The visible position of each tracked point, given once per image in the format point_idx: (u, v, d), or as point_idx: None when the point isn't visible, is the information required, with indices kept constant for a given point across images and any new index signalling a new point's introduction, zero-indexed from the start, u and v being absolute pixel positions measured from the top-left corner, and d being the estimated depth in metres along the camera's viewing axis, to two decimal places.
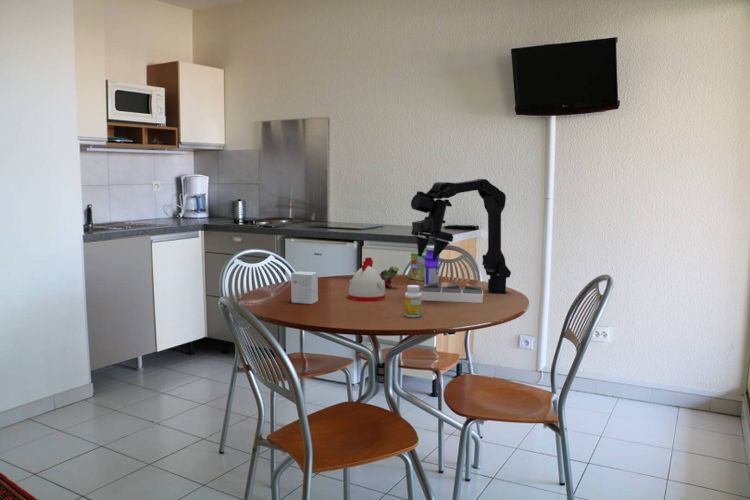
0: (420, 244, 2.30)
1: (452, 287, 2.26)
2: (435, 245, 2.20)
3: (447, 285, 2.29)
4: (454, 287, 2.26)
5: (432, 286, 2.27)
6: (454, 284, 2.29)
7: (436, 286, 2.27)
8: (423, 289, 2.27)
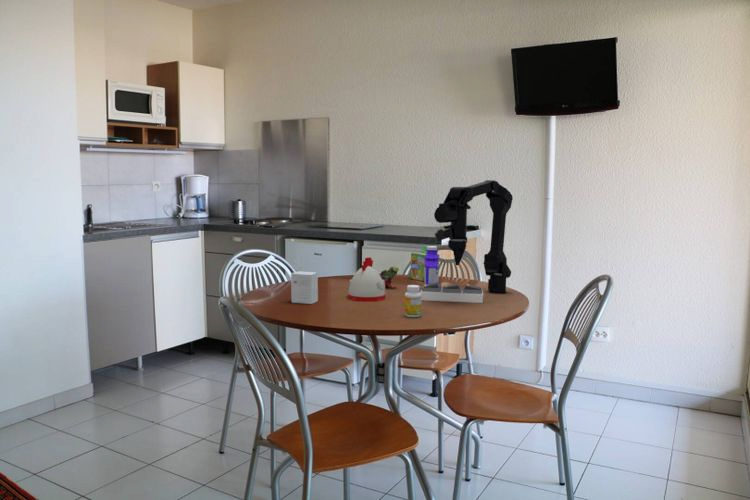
0: None
1: (452, 287, 2.26)
2: None
3: (447, 285, 2.29)
4: (454, 287, 2.26)
5: (432, 286, 2.27)
6: (454, 284, 2.29)
7: (436, 286, 2.27)
8: (423, 289, 2.27)
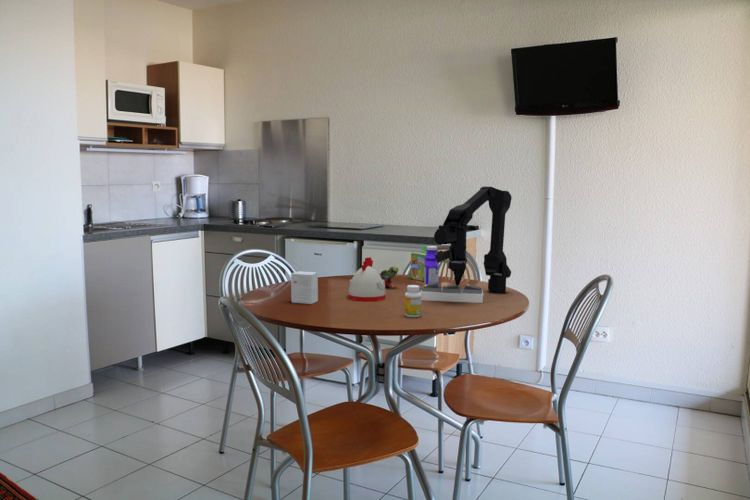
0: None
1: (452, 287, 2.26)
2: (453, 272, 2.26)
3: (447, 285, 2.29)
4: (454, 287, 2.26)
5: (432, 286, 2.27)
6: (454, 284, 2.29)
7: (436, 286, 2.27)
8: (423, 289, 2.27)
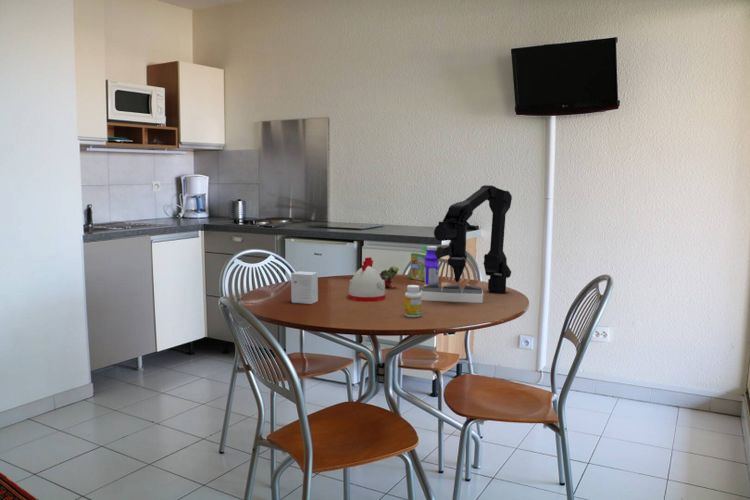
0: None
1: (452, 287, 2.26)
2: (453, 269, 2.26)
3: (447, 285, 2.29)
4: (454, 287, 2.26)
5: (432, 286, 2.27)
6: (454, 284, 2.29)
7: (436, 286, 2.27)
8: (423, 289, 2.27)
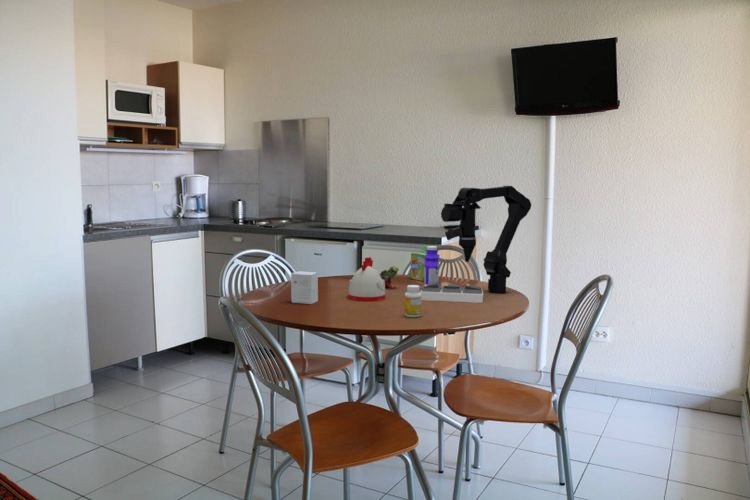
0: None
1: (452, 287, 2.26)
2: (463, 249, 2.35)
3: (447, 284, 2.29)
4: (454, 288, 2.26)
5: (432, 286, 2.27)
6: (454, 285, 2.29)
7: (436, 286, 2.27)
8: (423, 289, 2.27)
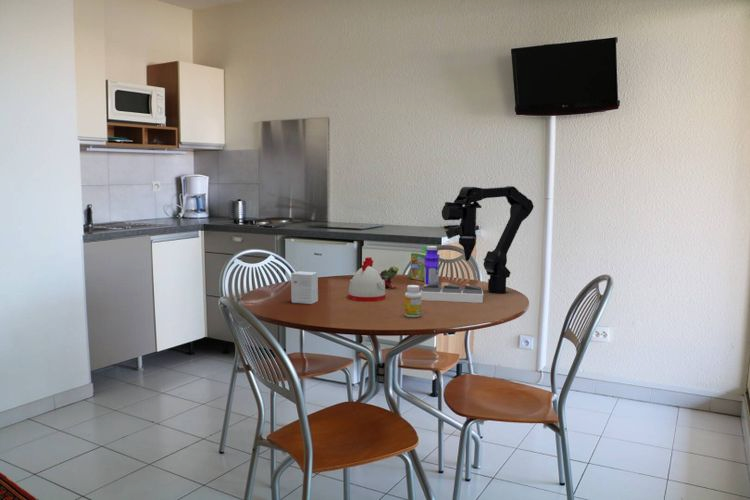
0: None
1: (452, 287, 2.26)
2: None
3: (448, 284, 2.29)
4: (454, 288, 2.26)
5: (432, 286, 2.27)
6: (455, 285, 2.29)
7: (436, 286, 2.27)
8: (423, 289, 2.27)
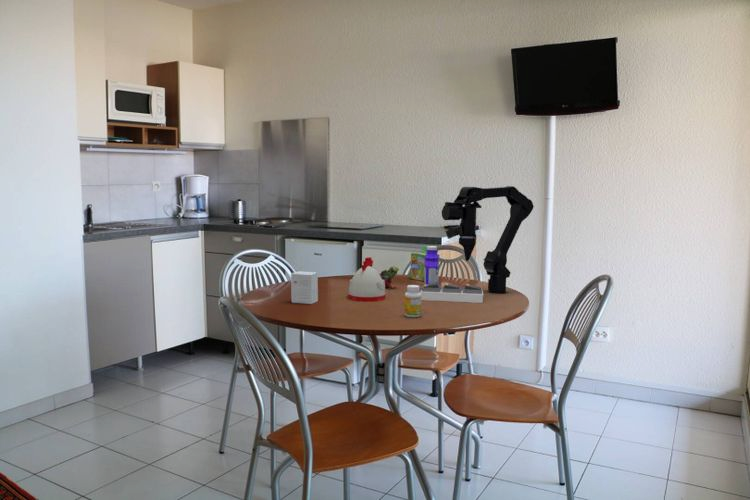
0: None
1: (452, 287, 2.26)
2: None
3: None
4: (454, 288, 2.26)
5: (432, 286, 2.27)
6: (455, 285, 2.29)
7: (436, 286, 2.27)
8: (423, 289, 2.27)
